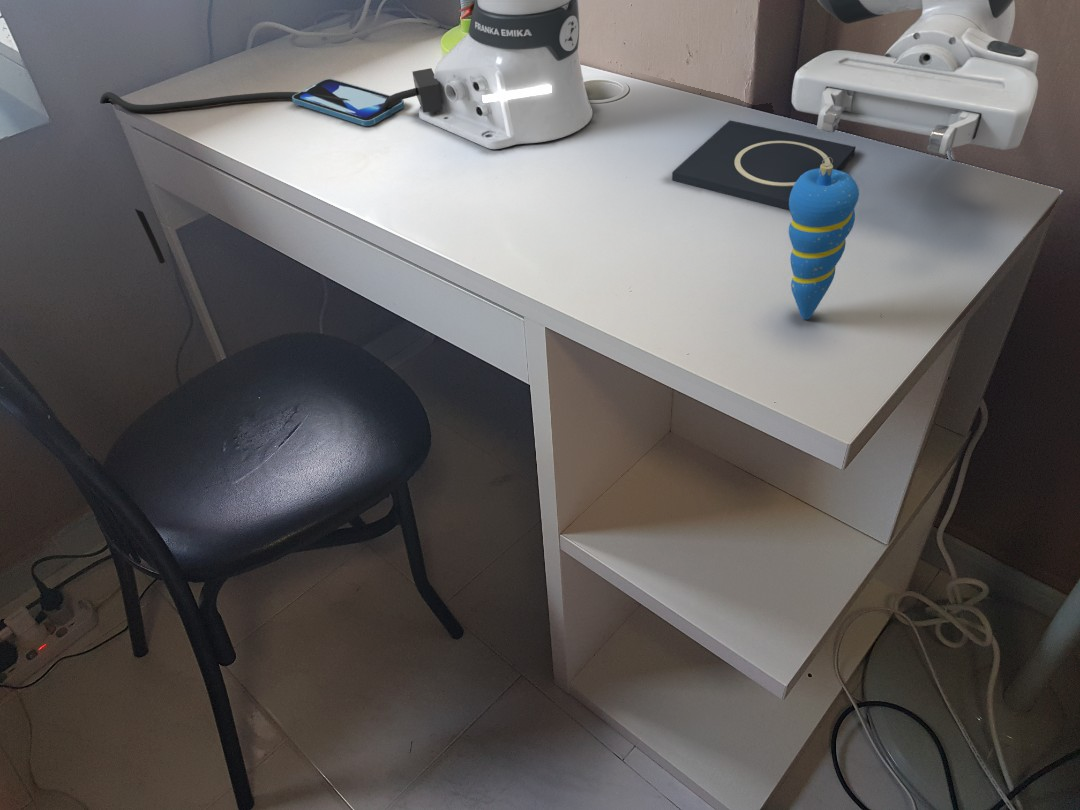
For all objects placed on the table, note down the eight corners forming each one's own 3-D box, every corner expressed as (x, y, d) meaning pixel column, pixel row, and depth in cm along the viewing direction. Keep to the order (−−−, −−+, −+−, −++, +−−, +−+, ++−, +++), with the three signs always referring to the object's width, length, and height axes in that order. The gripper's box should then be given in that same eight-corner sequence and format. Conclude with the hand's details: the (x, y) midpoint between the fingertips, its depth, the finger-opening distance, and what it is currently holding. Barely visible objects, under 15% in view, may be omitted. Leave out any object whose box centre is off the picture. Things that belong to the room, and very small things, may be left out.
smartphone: (367, 122, 106) (288, 97, 113) (369, 129, 107) (290, 104, 113) (407, 100, 110) (328, 77, 117) (408, 107, 111) (329, 84, 117)
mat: (671, 180, 91) (672, 170, 91) (729, 128, 99) (729, 118, 98) (804, 214, 84) (805, 203, 84) (854, 155, 92) (856, 145, 92)
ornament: (841, 335, 70) (876, 171, 60) (779, 339, 71) (804, 176, 60) (826, 298, 74) (857, 138, 64) (767, 302, 74) (788, 143, 64)
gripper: (827, 23, 82) (768, 76, 74) (1059, 55, 72) (1019, 120, 64) (818, 87, 86) (761, 144, 78) (1036, 125, 76) (995, 194, 69)
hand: (879, 133), depth 71 cm, fingers open, 8 cm apart
